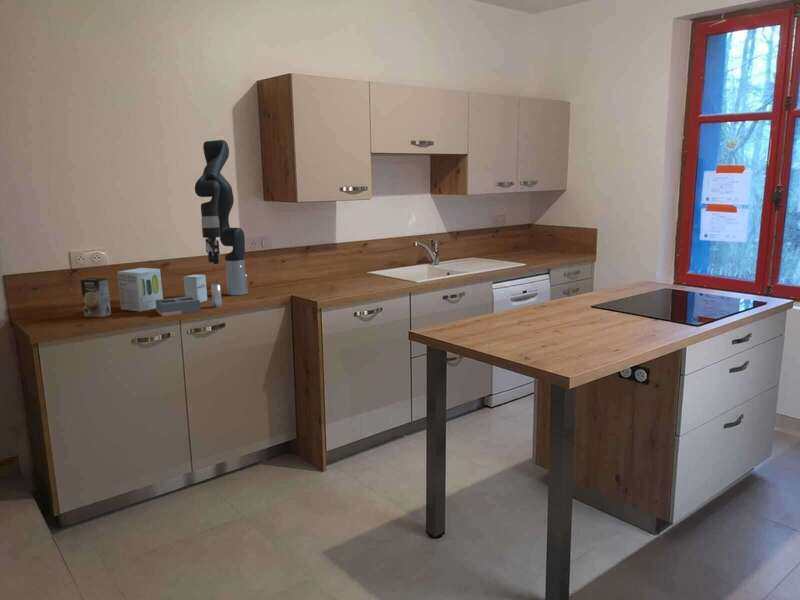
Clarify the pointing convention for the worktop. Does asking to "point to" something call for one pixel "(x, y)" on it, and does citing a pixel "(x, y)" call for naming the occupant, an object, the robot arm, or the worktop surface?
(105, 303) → the coffee box
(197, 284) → the supplement box
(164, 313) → the socket block
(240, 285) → the robot arm
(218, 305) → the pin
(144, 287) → the supplement box
